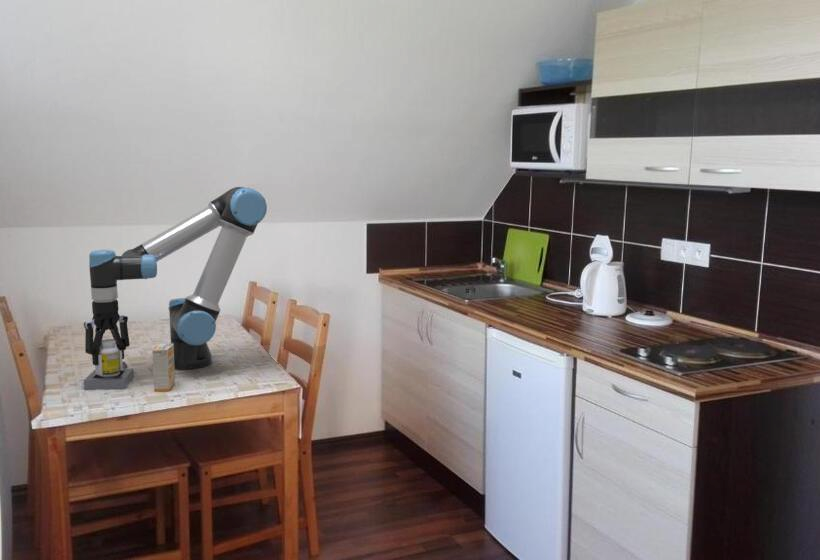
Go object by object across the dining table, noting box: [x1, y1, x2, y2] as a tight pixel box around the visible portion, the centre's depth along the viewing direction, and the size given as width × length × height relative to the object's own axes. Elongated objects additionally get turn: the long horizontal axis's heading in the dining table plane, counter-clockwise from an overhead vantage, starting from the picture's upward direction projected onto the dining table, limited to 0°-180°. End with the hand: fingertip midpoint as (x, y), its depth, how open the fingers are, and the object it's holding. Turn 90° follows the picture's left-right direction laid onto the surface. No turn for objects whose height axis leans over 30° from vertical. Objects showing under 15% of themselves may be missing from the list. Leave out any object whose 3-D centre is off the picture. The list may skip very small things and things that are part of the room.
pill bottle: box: [99, 338, 120, 377], centre depth 234 cm, size 6×6×11 cm
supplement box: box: [151, 343, 176, 392], centre depth 230 cm, size 8×5×13 cm, turn 5°
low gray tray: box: [83, 361, 135, 391], centre depth 240 cm, size 22×12×3 cm, turn 7°
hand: (109, 372), depth 235 cm, fingers closed on pill bottle, 6 cm apart
